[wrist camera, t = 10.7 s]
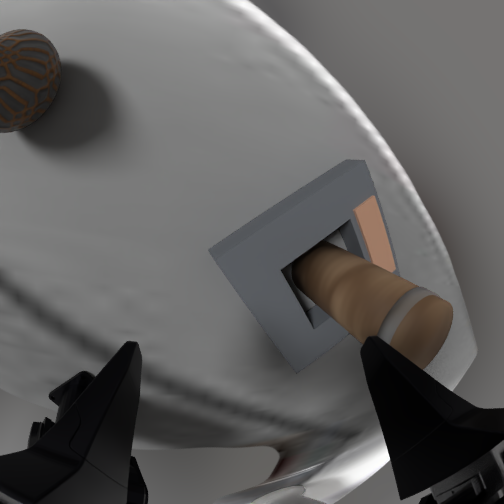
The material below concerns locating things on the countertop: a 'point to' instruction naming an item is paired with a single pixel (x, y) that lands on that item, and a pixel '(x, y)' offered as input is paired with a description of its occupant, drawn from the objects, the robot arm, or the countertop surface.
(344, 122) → the countertop surface
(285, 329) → the socket block
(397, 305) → the walnut peg
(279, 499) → the decorative vase
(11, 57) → the vase
